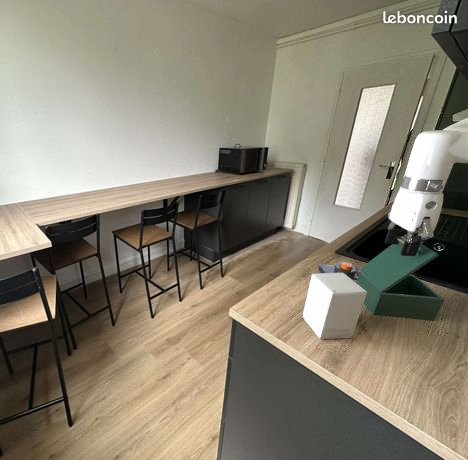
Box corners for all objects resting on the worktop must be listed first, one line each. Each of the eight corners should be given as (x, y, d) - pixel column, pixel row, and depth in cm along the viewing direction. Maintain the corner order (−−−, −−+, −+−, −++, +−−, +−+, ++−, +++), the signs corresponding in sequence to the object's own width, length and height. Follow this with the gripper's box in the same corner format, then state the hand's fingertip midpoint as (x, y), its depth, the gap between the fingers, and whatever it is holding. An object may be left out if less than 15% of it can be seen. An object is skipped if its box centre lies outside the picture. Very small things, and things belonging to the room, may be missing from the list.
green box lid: (407, 235, 72) (395, 226, 72) (439, 255, 62) (425, 244, 61) (361, 270, 79) (349, 262, 79) (382, 293, 69) (369, 284, 68)
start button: (348, 266, 91) (349, 262, 90) (352, 271, 88) (354, 267, 88) (338, 265, 92) (339, 261, 91) (342, 270, 89) (343, 266, 88)
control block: (347, 271, 94) (350, 262, 93) (358, 284, 87) (361, 274, 86) (318, 269, 96) (320, 260, 95) (326, 281, 89) (328, 272, 88)
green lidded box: (404, 298, 80) (414, 275, 76) (432, 325, 69) (445, 299, 66) (352, 293, 83) (359, 271, 79) (371, 319, 72) (380, 294, 69)
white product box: (353, 338, 66) (369, 292, 60) (319, 340, 66) (332, 293, 60) (331, 314, 74) (343, 271, 68) (301, 315, 74) (311, 273, 68)
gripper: (473, 193, 53) (440, 266, 60) (415, 176, 68) (395, 236, 76) (430, 193, 55) (403, 265, 62) (383, 177, 70) (366, 235, 77)
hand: (399, 248), depth 69 cm, fingers closed on green box lid, 6 cm apart
